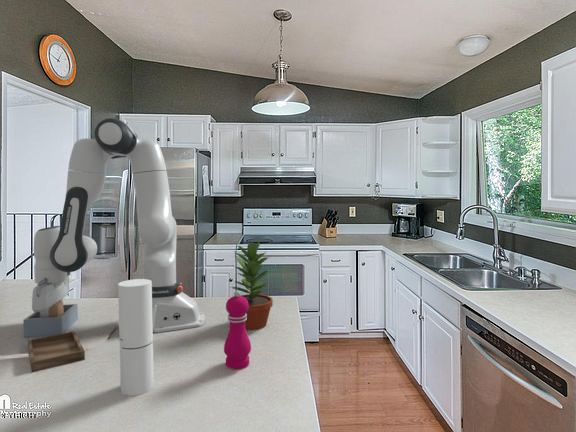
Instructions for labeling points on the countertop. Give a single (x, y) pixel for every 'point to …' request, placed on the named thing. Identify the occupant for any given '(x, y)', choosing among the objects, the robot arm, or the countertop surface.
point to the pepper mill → (237, 333)
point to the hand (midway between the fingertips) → (52, 316)
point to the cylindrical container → (136, 336)
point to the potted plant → (253, 287)
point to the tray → (55, 351)
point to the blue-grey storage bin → (50, 322)
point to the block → (56, 310)
